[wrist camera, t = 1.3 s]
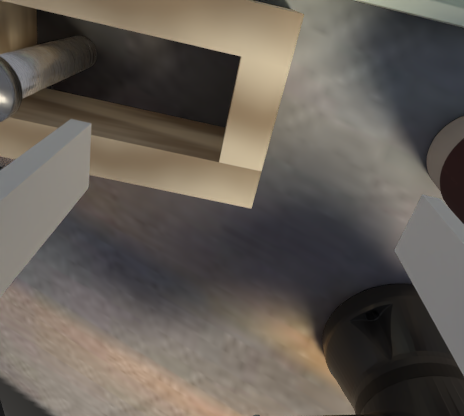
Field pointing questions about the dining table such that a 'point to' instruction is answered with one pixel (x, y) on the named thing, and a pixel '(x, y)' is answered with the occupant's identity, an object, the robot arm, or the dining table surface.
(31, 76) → the steel bolt
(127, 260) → the dining table surface
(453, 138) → the coffee cup
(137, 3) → the open wooden box
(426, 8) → the sage tray
